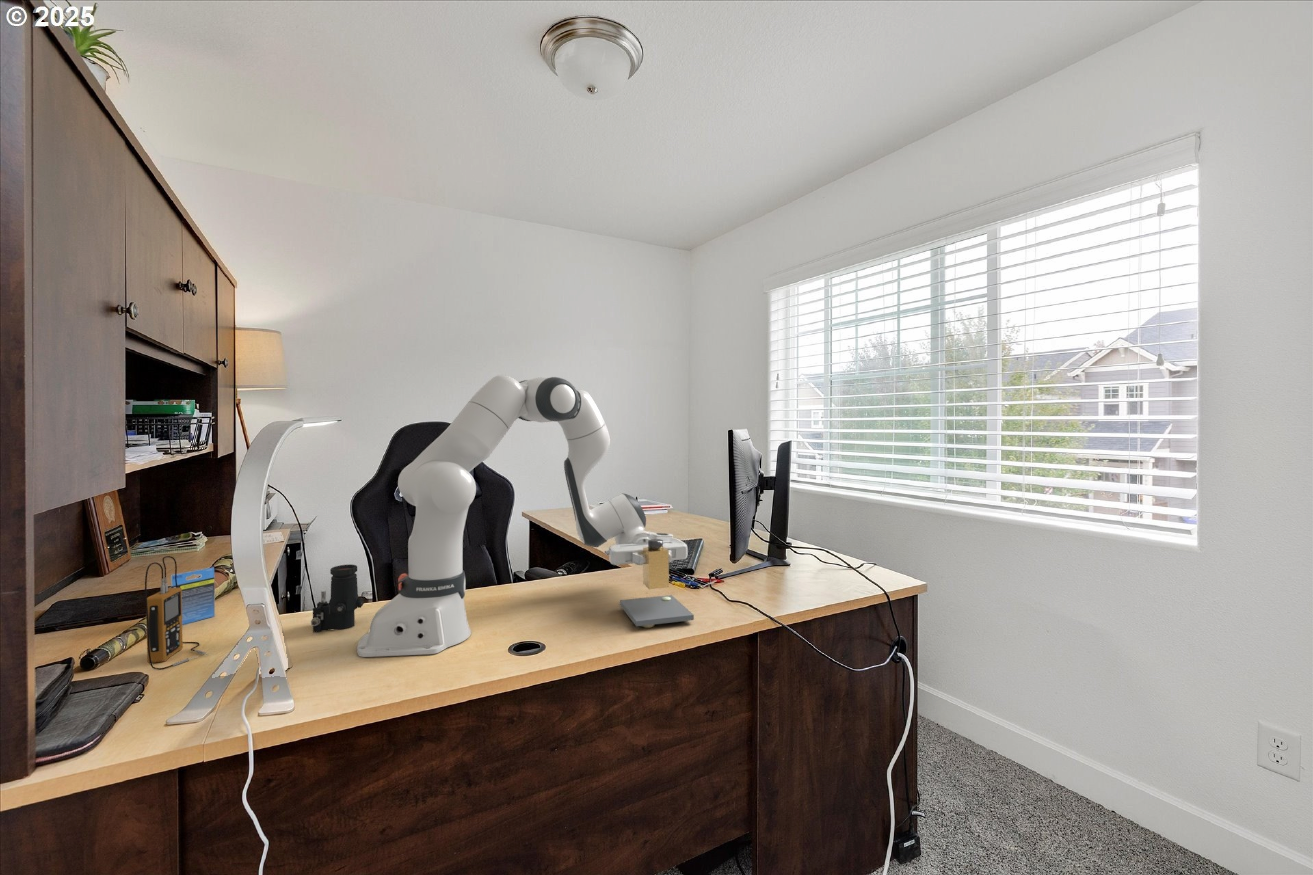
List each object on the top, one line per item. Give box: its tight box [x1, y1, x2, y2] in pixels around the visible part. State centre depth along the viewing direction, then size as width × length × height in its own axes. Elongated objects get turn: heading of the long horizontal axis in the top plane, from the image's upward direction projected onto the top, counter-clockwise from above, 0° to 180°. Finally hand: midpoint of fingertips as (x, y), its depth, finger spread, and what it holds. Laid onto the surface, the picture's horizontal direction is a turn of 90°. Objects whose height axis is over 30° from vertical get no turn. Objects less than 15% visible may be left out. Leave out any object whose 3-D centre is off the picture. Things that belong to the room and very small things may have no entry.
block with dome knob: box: [642, 539, 670, 590], centre depth 136 cm, size 5×5×11 cm
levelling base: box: [619, 594, 695, 628], centre depth 136 cm, size 14×16×2 cm
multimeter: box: [144, 555, 210, 670], centre depth 114 cm, size 15×10×20 cm
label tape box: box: [168, 566, 216, 626], centre depth 133 cm, size 9×4×12 cm, turn 154°
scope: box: [310, 564, 364, 634], centre depth 129 cm, size 8×14×10 cm
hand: (656, 559), depth 135 cm, fingers closed on block with dome knob, 5 cm apart
